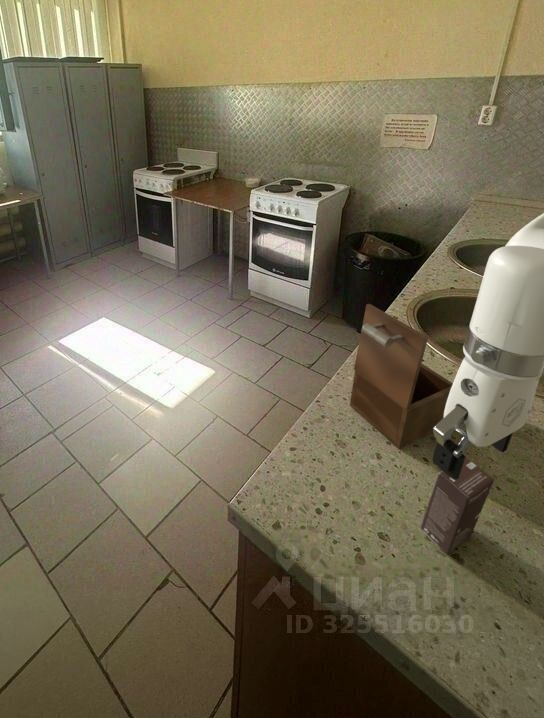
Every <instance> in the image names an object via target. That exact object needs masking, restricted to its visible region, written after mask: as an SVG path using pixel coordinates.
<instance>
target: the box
mask: <svg viewBox="0 0 544 718" xmlns="http://www.w3.org/2000/svg"><path fill="white" fill-rule="evenodd" d="M494 482H495V478H493V477H492V476H491V475H489V474H488V473H487V472H486V471H484V470H483V469H481V468H480V467H479V466H478V465H476V464H475V463H474V462H473V461H471V460H470V459H469V458H467V457H465V460H464V463H463V466H462V469H461V472H460V476H459V478H458V479H456V480H453V479H452V478H451V477H450V476H448V475H447V474H446V473H445V472H444V471H443V470H441V471H439V472H438V474H437V477H436V480H435V483H434V486H433V489H432V491H431V495H430V498H429V501H428V503H427V507H426V509H425V511H424V515H423V518H422V521H421V525H420V527H419V529H420V531H422V532H423V534H424V535H425V536H427V538H428V539H430V541H431V542H433V543H434V544H435V546H436V547H438V548H439V549H440V550H441V551H442V552H443V553H444V554H445V555H446V556H448V555H450V554H451V553H452V552H453V551H454V550H455V549H456V548H458V547H459V546H460V545H461V544H462V543H464V542H465V541H466V540H468V539H469V538H470V537H471V536H472V535H473V532H474V530H475V528H476V526H477V523H478V520H479V518H480V516H481V513H482V510H483V508H484V505H485V503H486V500H487V499H488V496H489V494H490V491H491V489H492V487H493V484H494Z"/></svg>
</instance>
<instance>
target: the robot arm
mask: <svg viewBox="0 0 544 718" xmlns="http://www.w3.org/2000/svg"><path fill="white" fill-rule="evenodd" d="M462 351H463V354H464V357H463V359H462V361H461V362H460V363H461V364H460V366H459V368H458V370H457V372H456V374H455V377H454V380H453V382H452V383H453V385H452V387H451V390H450V393H449V396H448V399H447V402H446V406H445V410H444V418H443V419H442V420H441V421H440V422H439V423H438V424H437V425H436V426H435V427H434V429H433V432H432V433H433V440H434V441H435V442H436V444H435V447H434V450H433V454H432V458H431V461H432V463H433V464H434V465H436V466H437V467H438V468H439V469H440V470H441V471H444V472H445V473H446V474H447V475H448V476H450V477H451V478H452V479H453V480H456V479H458V478H459V476H460V472H461V469H462V466H463V463H464V460H465V457H466V455H465V454H464V453H465V452H466V450H467V449H468V447H469V446H470V445H471V443H472V444H473V445H474V446H476V447H477V448H485V447H489V446H492V447H493V448H495V449H496V450H497V451H499V452H501V453H505V452H507V450H508V448H509V445H510V442H511V439H512V436H513V434H514V433H515V432H516V431H518V430H519V429H521V428H523V427H524V426H525V425H526V423H527V422H528V420H529V417H530V413H531V411H532V406H533V403H534V400H535V398H536V393H537V389H538V388H539V382H540V378H541V377H542V375H543V373H544V212H543V213H542V214H540V215H539V216H537V217H536V218H534V219H532V220H531V221H530V222H528V223H526V224H525V225H524V226H523V227H522V228H520V230H519V229H518V231H517V232H516V233H514V235H513V236H512V237H510V239H509V240H508V241H507V243H506V244H505V246H501V247H499V248H496V249H494V251H492V253H491V254H490V255H489V257H488V260H487V263H486V265H485V269H484V273H483V277H482V280H481V284H480V287H479V290H478V295H477V297H476V301H475V305H474V307H473V312H472V315H471V319H470V321H469V326H468V329H467V334H466V337H465V340H464V343H463V346H462ZM462 424H464V425H465V430H464V429H463V428H462V427H460V426H461V425H462ZM455 431H456V432H457V433H459V434H460V435H461V436H462V438H461V439H460V441H459V442H458V443H457V444H456V442H454V441H453V440H452V439H451V438H452V434H453V433H454V432H455ZM466 458H467V457H466Z"/></svg>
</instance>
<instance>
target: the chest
mask: <svg viewBox="0 0 544 718" xmlns="http://www.w3.org/2000/svg"><path fill="white" fill-rule="evenodd" d="M452 385H453V382H452V381H450V380H449V379H447V378H445V377H444V376H443V375H441V374H440V373H438V372H436V371H435V370H433V369H432V368H430V367H428V366H426V365H425V364H423V362H422V363H421V367H420V371H419V374H418V378H417V382H416V386H415V389H414V393H413V397H412V401H411V404H410V408H409V409H408V410H405V409H404V408H403V407H402V406H400V405H399V404H398V403H396V402H395V401H394V400H393V399H391V398H390V397H389V396H387V395H386V394H385V393H384V392H382V391H381V390H380V389H378V388H377V387H376V386H375V385H373V384H372V383H371V382H369V381H368V380H367V379H366V378H364V377H363V376H362V375H360V374H359V373H358V372H357V371H355V370H354V374H353V380H352V386H351V387H352V388H351V394H350V401H349V407H351V408H352V409H353V410H354V411H355V412H356V413H357V414H358V415H359V416H360V417H362V418H363V419H364V420H365V421H366V422H368V424H369V425H370V426H372V427H373V428H374V429H375V430H377V432H378V433H380V434H381V435H382V436H383V437H384V438H385V439H386V440H387V441H389V443H390V444H392V445H393V446H394V447H395V448H396V449H397V450H401V449H402V448H405V447H407V446H409V445H410V444H412V443H414V442H417V441H419V440H421V439H422V438H425V437H426V436H428V435H430V434H432V433H434V432H433V429H434V427H435V426H436V425H437V424H438V423H439V422H440V421H441V420H442V419H443V418H444V410H445V406H446V402H447V399H448V396H449V393H450V390H451V387H452Z"/></svg>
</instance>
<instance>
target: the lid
mask: <svg viewBox="0 0 544 718" xmlns="http://www.w3.org/2000/svg"><path fill="white" fill-rule="evenodd" d="M428 340H429V336H428V335H425V334H424V333H422V332H420V331H419V330H417V329H415V328H413V327H412V326H410V325H408V324H406V323H404V322H403V321H401V320H400V319H397V318H395V317H394V316H392V315H390V314H389V313H386V312H385V311H384V310H381V309H379V308H378V307H376V306H374V305H373V304H371V303H367V304H366V306H365V310H364V316H363V321H362V326H361V331H360V335H359V342H358V346H357V351H356V357H355V362H354V366H353V370H354V372H355V371H357V372H358V373H359V374H360V375H362V376H363V377H364V378H366V379H367V380H368V381H369V382H371V383H372V384H373V385H375V386H376V387H377V388H378V389H380V390H381V391H382V392H384V393H385V394H386V395H387V396H389V397H390V398H391V399H393V400H394V401H395V402H396V403H398V404H399V405H400V406H402V407H403V408H404V409H405V410H408V409H409V408H410V404H411V401H412V397H413V393H414V389H415V386H416V382H417V378H418V374H419V371H420V367H421V363H422V364H423V360H424V355H425V352H426V348H427V345H428Z"/></svg>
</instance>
